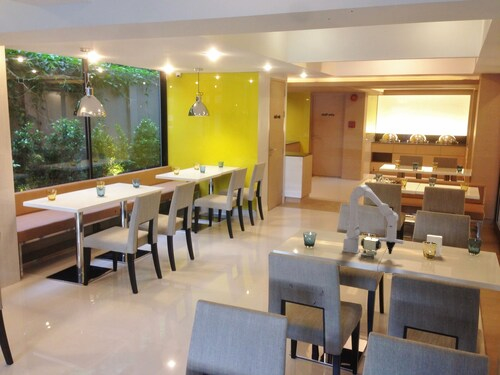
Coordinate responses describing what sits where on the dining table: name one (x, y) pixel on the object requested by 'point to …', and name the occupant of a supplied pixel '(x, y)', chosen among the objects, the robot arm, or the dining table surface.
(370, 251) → the pneumatic valve
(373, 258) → the guide rails
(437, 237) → the base with upright slab
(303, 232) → the dining table surface
